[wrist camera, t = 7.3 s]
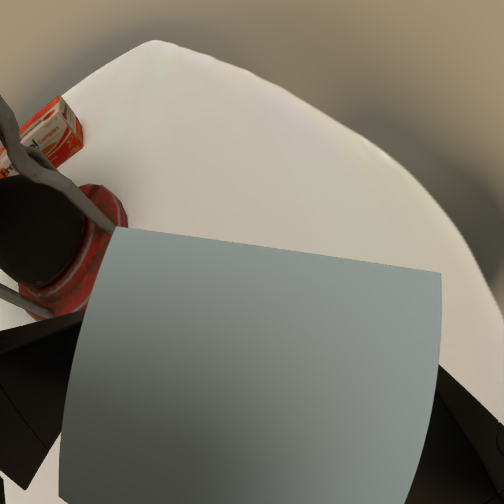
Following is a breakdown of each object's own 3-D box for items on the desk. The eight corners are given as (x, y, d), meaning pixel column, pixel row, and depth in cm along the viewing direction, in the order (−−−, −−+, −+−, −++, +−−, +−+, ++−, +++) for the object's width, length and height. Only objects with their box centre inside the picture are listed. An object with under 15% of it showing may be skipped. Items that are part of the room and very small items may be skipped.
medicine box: (18, 203, 33) (-12, 176, 26) (22, 175, 36) (-3, 149, 29) (85, 147, 34) (58, 110, 27) (83, 125, 38) (61, 93, 31)
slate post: (307, 435, 13) (363, 579, 1) (218, 418, 14) (58, 496, 2) (324, 350, 15) (441, 273, 3) (236, 335, 16) (116, 226, 4)
